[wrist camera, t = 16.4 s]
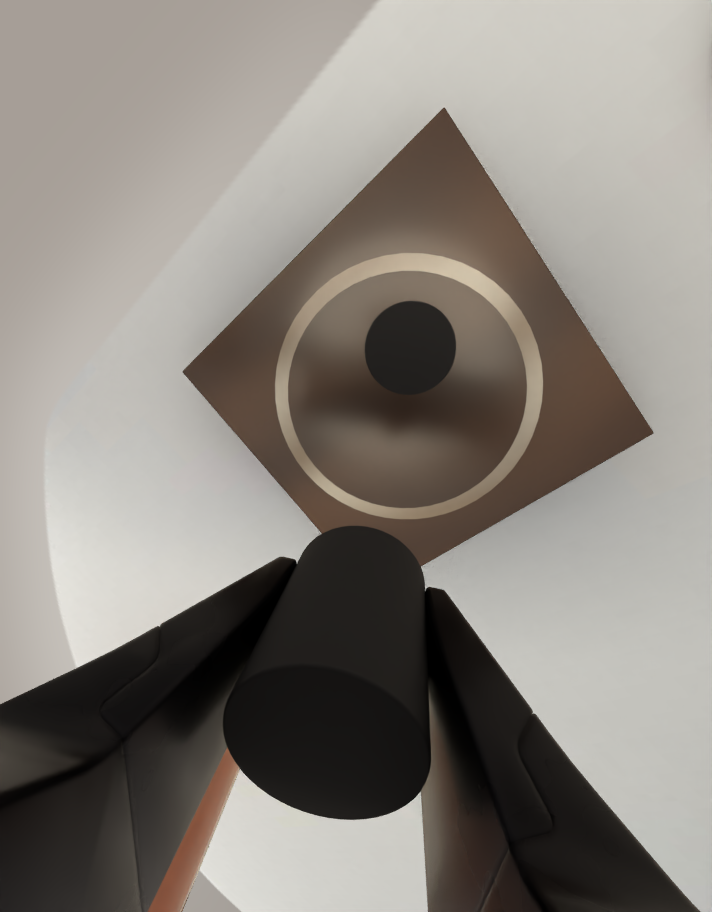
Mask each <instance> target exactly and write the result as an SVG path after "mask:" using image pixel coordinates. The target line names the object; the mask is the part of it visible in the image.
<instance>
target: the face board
mask: <svg viewBox="0 0 712 912" xmlns="http://www.w3.org/2000/svg"><path fill="white" fill-rule="evenodd" d="M404 301H420V302H424V303H427V304H430V305H432V306H434V307H435V308H437V309H438V310H440V311H441V312H442V313H443V314H444V315H445V316H446V317H447V319H448V320H449V322H450V323H451V325H452V328H453V330H454V334H455V338H456V355H455V359H454V362H453V365H452V367H451V369H450V371H449V373H448V374H447V375H446V377H445V378H444V379H443V380H442V381H441V382H440V383H439V384H438V385H437V386H435V387H434V388H432V389H430V390H428V391H426V392H423V393H421V394H416V395H402V394H397V393H394V392H391V391H389V390H387V389H386V388H384V387H383V386H381V385H380V384H379V383H378V382H377V381H376V380H375V379H374V377H373V376H372V374H371V373H370V371H369V369H368V366H367V363H366V359H365V341H366V336H367V333H368V331H369V328H370V326H371V325H372V323H373V321H374V320H375V319H376V318H377V316H378V315H379V314H380V313H381V312H383V311H384V310H385V309H387V308H388V307H390V306H392V305H394V304H397V303H400V302H404ZM183 373H184V374H185V375H186V377H187V378H188V379H189V380H190V381H191V382H192V383H193V385H194V386H195V387H196V388H197V389H198V390H199V392H200V393H201V394H202V395H203V396H204V397H205V399H206V400H207V401H208V402H209V403H210V404H211V405H212V407H213V408H214V409H215V410H216V411H217V412H218V414H219V415H220V416H221V417H222V418H223V419H224V421H225V422H226V423H227V424H228V425H229V426H230V427H231V429H232V430H233V431H234V432H235V433H236V434H237V436H238V437H239V438H240V439H241V440H242V441H243V443H244V444H245V445H246V446H247V447H248V448H249V449H250V451H251V452H252V453H253V454H254V455H255V456H256V458H257V459H258V460H259V461H260V462H261V463H262V465H263V466H264V467H265V468H266V469H267V470H268V471H269V473H270V474H271V475H272V476H273V477H274V478H275V480H276V481H277V482H278V483H279V484H280V485H281V486H282V488H283V489H284V490H285V491H286V492H287V493H288V495H289V496H290V497H291V498H292V499H293V500H294V502H295V503H296V504H297V505H298V506H299V507H300V508H301V510H302V511H303V512H304V513H305V514H306V515H307V517H308V518H309V519H310V520H311V521H312V522H313V524H314V525H315V526H316V527H317V528H318V529H319V530H320V532H321V533H322V534H323V533H324V532H327V531H329V530H331V529H334V528H338V527H343V526H366V527H371V528H375V529H378V530H381V531H384V532H386V533H388V534H390V535H392V536H393V537H395V538H397V539H398V540H400V541H401V542H402V543H403V544H404V545H406V547H407V548H408V549H409V550H410V551H411V552H412V553H413V555H414V556H415V557H416V559H417V561H418V562H419V564H420V566H422V565H424V564H426V563H428V562H429V561H431V560H433V559H435V558H436V557H438V556H440V555H442V554H443V553H445V552H447V551H449V550H450V549H452V548H454V547H456V546H457V545H459V544H461V543H463V542H464V541H466V540H468V539H470V538H471V537H473V536H475V535H477V534H478V533H480V532H482V531H484V530H485V529H487V528H489V527H491V526H492V525H494V524H496V523H498V522H499V521H501V520H503V519H505V518H506V517H508V516H510V515H512V514H513V513H515V512H517V511H519V510H520V509H522V508H524V507H526V506H527V505H529V504H531V503H533V502H534V501H536V500H538V499H540V498H541V497H543V496H545V495H547V494H548V493H550V492H552V491H554V490H555V489H557V488H559V487H561V486H562V485H564V484H566V483H568V482H569V481H571V480H573V479H575V478H576V477H578V476H580V475H582V474H583V473H585V472H587V471H589V470H590V469H592V468H594V467H596V466H597V465H599V464H601V463H603V462H604V461H606V460H608V459H610V458H611V457H613V456H615V455H617V454H618V453H620V452H622V451H624V450H625V449H627V448H629V447H631V446H632V445H634V444H636V443H638V442H639V441H641V440H643V439H645V438H646V437H648V436H650V435H652V434H653V431H652V429H651V428H650V426H649V425H648V423H647V422H646V420H645V419H644V417H643V415H642V414H641V412H640V411H639V409H638V408H637V406H636V405H635V403H634V401H633V400H632V398H631V397H630V395H629V394H628V392H627V391H626V389H625V387H624V386H623V384H622V383H621V381H620V380H619V378H618V377H617V375H616V373H615V372H614V370H613V369H612V367H611V366H610V364H609V363H608V361H607V360H606V358H605V356H604V355H603V353H602V352H601V350H600V349H599V347H598V346H597V344H596V342H595V341H594V339H593V338H592V336H591V335H590V333H589V332H588V330H587V328H586V327H585V325H584V324H583V322H582V321H581V319H580V318H579V316H578V314H577V313H576V311H575V310H574V308H573V307H572V305H571V304H570V302H569V300H568V299H567V297H566V296H565V294H564V293H563V291H562V290H561V288H560V286H559V285H558V283H557V282H556V280H555V279H554V277H553V276H552V274H551V272H550V271H549V269H548V268H547V266H546V265H545V263H544V262H543V260H542V258H541V257H540V255H539V254H538V252H537V251H536V249H535V248H534V246H533V244H532V243H531V241H530V240H529V238H528V237H527V235H526V234H525V232H524V230H523V229H522V227H521V226H520V224H519V223H518V221H517V220H516V218H515V216H514V215H513V213H512V212H511V210H510V209H509V207H508V206H507V204H506V202H505V201H504V199H503V198H502V196H501V195H500V193H499V192H498V190H497V188H496V187H495V185H494V184H493V182H492V181H491V179H490V178H489V176H488V174H487V173H486V171H485V170H484V168H483V167H482V165H481V164H480V162H479V160H478V159H477V157H476V156H475V154H474V153H473V151H472V150H471V148H470V146H469V145H468V143H467V142H466V140H465V139H464V137H463V136H462V134H461V132H460V131H459V129H458V128H457V126H456V125H455V123H454V122H453V120H452V118H451V117H450V115H449V114H448V112H447V111H446V109H445V108H443V109H442V110H441V111H440V112H439V113H438V114H437V115H436V116H435V117H434V118H433V119H432V120H431V121H430V122H429V123H428V124H427V125H426V126H425V127H424V128H423V129H422V130H421V131H420V132H419V133H418V134H417V135H416V136H415V137H414V138H413V139H412V140H411V141H410V142H409V143H408V144H407V145H406V146H405V147H404V148H403V149H402V150H401V151H400V152H399V153H398V154H397V155H396V156H395V157H394V158H393V159H392V160H391V161H390V162H389V163H388V164H387V166H386V167H385V168H384V169H383V170H382V171H381V172H380V173H379V174H378V175H377V176H376V177H375V178H374V179H373V180H372V181H371V182H370V183H369V184H368V185H367V186H366V187H365V188H364V189H363V190H362V191H361V192H360V193H359V194H358V195H357V196H356V197H355V198H354V199H353V200H352V201H351V202H350V203H349V204H348V205H347V206H346V207H345V208H344V209H343V210H342V211H341V212H340V213H339V214H338V215H337V216H336V217H335V218H334V219H333V220H332V221H331V222H330V223H329V224H328V225H327V226H326V227H325V228H324V229H323V230H322V231H321V232H320V233H319V234H318V235H317V236H316V237H315V238H314V239H313V240H312V241H311V242H310V243H309V244H308V245H307V246H306V247H305V248H304V249H303V250H302V251H301V252H300V253H299V254H298V255H297V256H296V257H295V258H294V259H293V260H292V261H291V262H290V263H289V264H288V265H287V266H286V267H285V268H284V270H283V271H282V272H281V273H280V274H279V275H278V276H277V277H276V278H275V279H274V280H273V281H272V282H271V283H270V284H269V285H268V286H267V287H266V288H265V289H264V290H263V291H262V292H261V293H260V294H259V295H258V296H257V297H256V298H255V299H254V300H253V301H252V302H251V303H250V304H249V305H248V306H247V307H246V308H245V309H244V310H243V311H242V312H241V313H240V314H239V315H238V316H237V317H236V318H235V319H234V320H233V321H232V322H231V323H230V324H229V325H228V326H227V327H226V328H225V329H224V330H223V331H222V332H221V333H220V334H219V335H218V336H217V337H216V338H215V339H214V340H213V341H212V342H211V343H210V344H209V345H208V346H207V347H206V348H205V349H204V350H203V351H202V352H201V353H200V354H199V355H198V356H197V357H196V358H195V359H194V360H193V361H192V362H191V363H190V364H189V365H188V366H187V367H186V368H185V369H184V370H183Z"/></svg>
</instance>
